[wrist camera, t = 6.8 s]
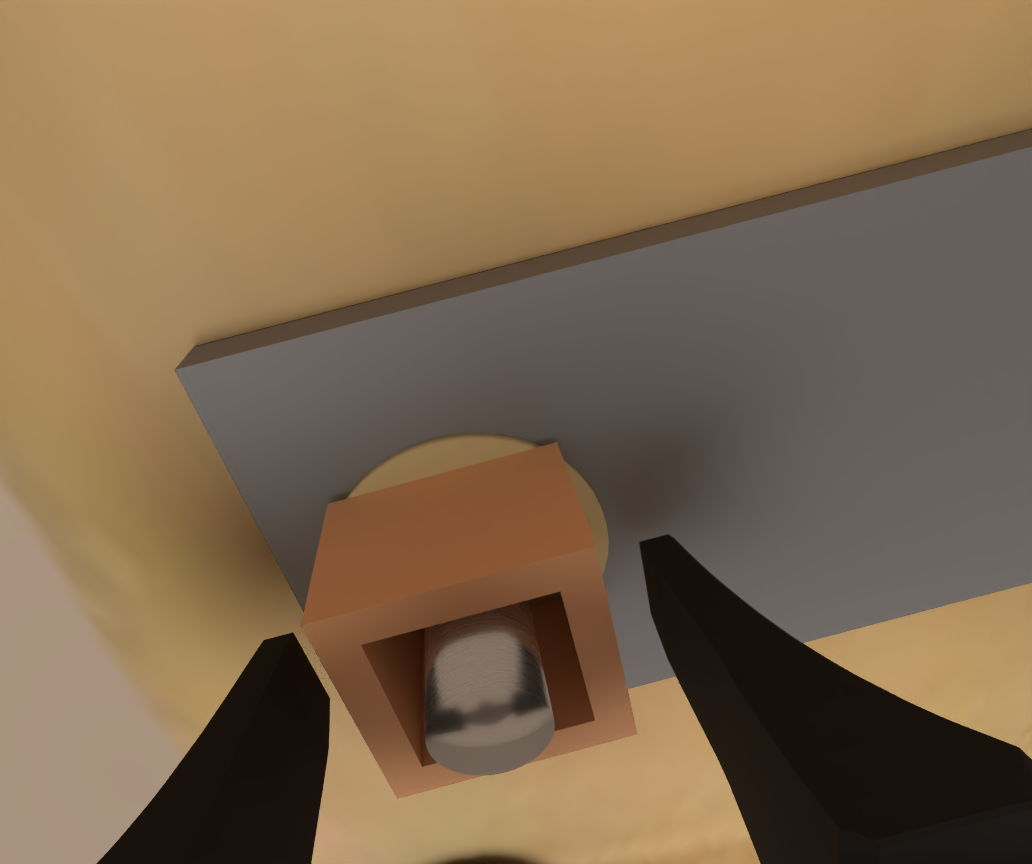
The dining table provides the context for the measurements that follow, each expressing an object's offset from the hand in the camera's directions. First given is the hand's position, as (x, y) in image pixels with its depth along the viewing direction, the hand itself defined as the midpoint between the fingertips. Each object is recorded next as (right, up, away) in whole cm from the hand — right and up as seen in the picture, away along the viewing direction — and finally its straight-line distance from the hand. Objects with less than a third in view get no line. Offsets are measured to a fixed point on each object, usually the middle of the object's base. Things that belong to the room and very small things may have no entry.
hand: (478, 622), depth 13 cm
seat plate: (+5, +3, +3) cm, 6 cm away
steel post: (0, +2, +3) cm, 3 cm away
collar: (0, +1, +2) cm, 2 cm away
